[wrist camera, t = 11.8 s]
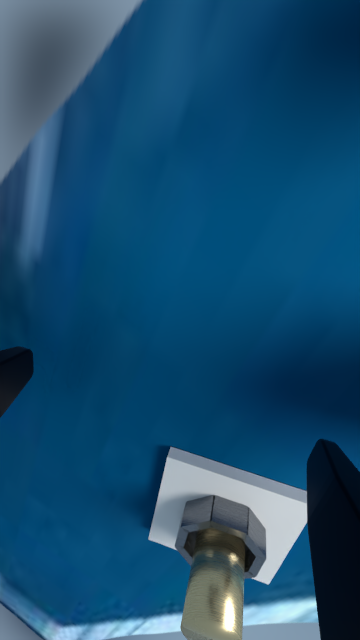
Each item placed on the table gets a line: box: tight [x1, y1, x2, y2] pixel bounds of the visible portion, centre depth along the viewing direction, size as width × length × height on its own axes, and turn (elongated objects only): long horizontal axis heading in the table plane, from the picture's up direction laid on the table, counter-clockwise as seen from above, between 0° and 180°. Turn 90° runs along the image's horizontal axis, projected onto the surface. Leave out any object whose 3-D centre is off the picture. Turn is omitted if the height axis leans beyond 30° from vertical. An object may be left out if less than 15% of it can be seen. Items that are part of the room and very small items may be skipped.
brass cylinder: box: [181, 528, 245, 640], centre depth 25 cm, size 4×4×8 cm
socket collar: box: [175, 495, 266, 579], centre depth 28 cm, size 8×8×2 cm
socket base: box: [148, 447, 307, 585], centre depth 30 cm, size 13×13×1 cm
